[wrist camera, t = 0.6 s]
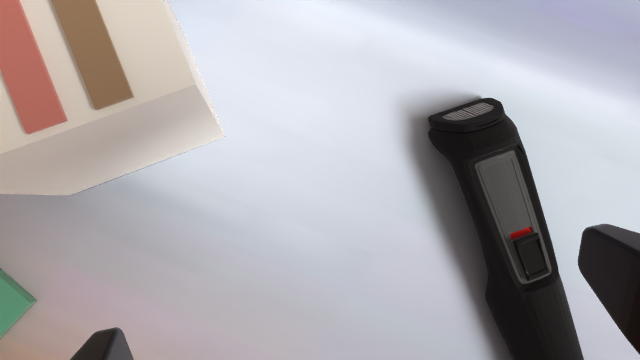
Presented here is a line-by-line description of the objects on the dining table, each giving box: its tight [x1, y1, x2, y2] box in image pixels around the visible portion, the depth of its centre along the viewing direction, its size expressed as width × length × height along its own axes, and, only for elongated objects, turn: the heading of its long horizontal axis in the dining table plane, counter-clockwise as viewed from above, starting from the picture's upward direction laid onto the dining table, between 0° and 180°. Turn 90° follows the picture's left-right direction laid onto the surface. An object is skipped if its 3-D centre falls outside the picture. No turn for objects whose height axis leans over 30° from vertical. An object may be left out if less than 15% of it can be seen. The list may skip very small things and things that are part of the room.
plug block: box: [0, 0, 225, 195], centre depth 16 cm, size 4×7×10 cm, turn 112°
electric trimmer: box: [428, 98, 584, 360], centre depth 22 cm, size 4×16×3 cm, turn 19°
